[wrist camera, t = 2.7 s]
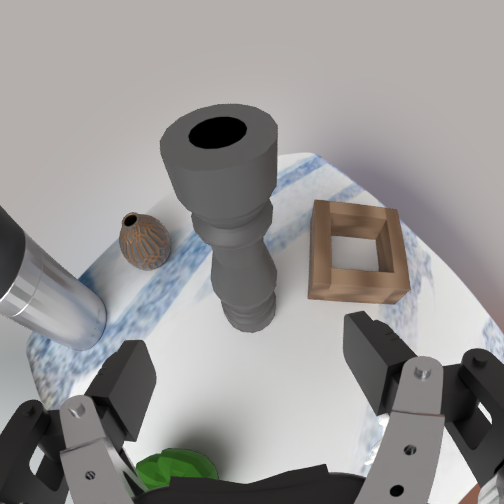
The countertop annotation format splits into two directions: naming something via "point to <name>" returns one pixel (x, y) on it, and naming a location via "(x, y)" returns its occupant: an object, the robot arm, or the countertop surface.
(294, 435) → the countertop surface
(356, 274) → the socket block
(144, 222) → the vase
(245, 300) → the candle holder
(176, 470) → the bell pepper
